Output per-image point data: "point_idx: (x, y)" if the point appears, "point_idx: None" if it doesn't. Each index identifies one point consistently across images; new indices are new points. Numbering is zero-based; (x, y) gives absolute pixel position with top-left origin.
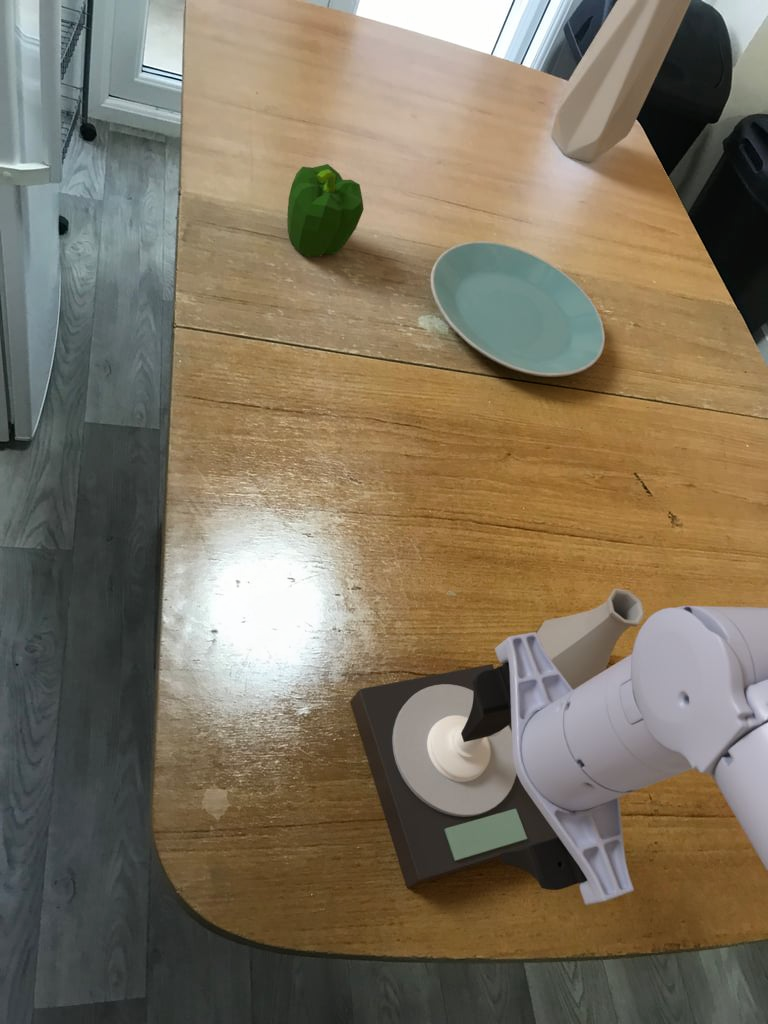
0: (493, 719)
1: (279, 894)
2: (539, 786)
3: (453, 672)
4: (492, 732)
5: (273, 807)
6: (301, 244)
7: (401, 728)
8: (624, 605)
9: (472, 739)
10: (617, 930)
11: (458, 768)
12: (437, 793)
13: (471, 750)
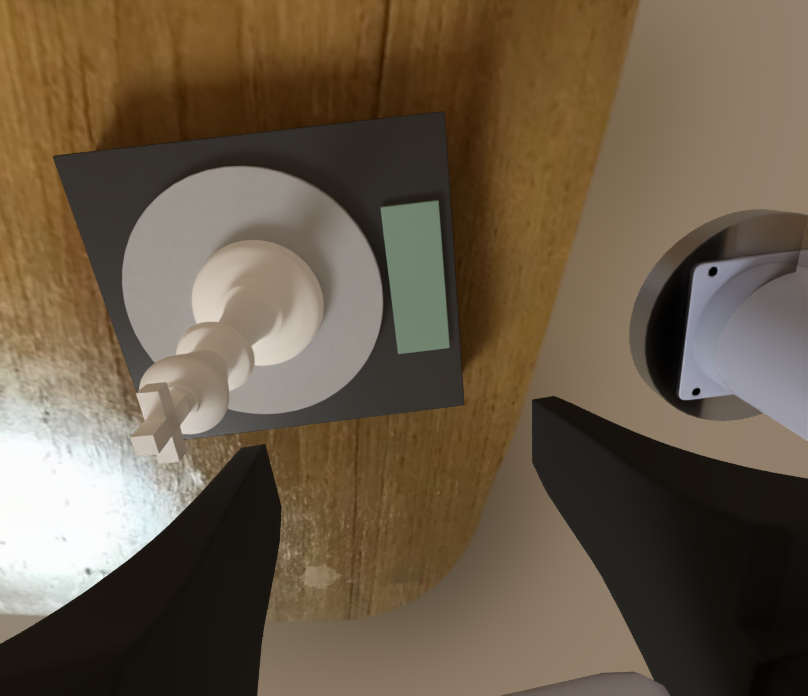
0: (245, 673)
1: (431, 524)
2: None
3: (92, 260)
4: (262, 483)
5: (331, 523)
6: None
7: None
8: None
9: (276, 497)
10: (609, 6)
11: (302, 330)
12: (340, 360)
13: (271, 319)
